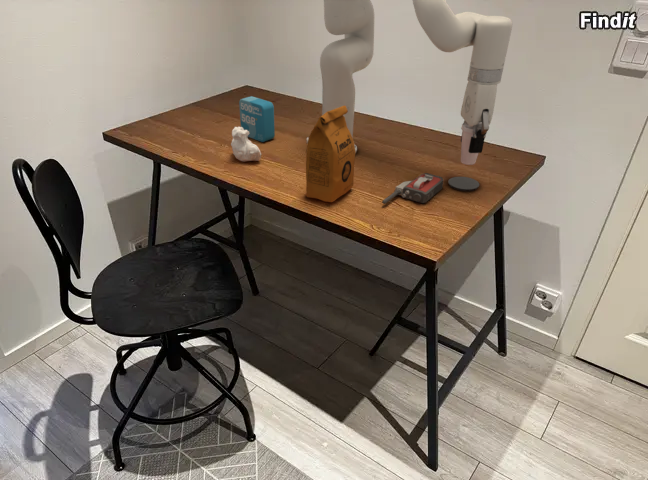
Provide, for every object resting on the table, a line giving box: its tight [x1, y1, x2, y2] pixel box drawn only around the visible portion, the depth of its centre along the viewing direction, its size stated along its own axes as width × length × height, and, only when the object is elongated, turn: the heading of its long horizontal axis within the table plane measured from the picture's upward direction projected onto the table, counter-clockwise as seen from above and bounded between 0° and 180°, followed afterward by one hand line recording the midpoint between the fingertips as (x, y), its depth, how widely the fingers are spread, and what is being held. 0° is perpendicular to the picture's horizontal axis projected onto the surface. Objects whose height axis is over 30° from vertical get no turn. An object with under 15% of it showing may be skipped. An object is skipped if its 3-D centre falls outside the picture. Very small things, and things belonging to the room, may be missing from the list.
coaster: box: [447, 176, 480, 192], centre depth 138 cm, size 8×8×1 cm
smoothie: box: [460, 122, 482, 166], centre depth 131 cm, size 6×6×14 cm
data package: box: [238, 95, 276, 143], centre depth 167 cm, size 12×4×12 cm, turn 44°
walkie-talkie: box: [381, 172, 445, 205], centre depth 132 cm, size 9×4×20 cm
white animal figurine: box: [230, 126, 262, 163], centre depth 152 cm, size 12×8×11 cm
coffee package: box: [305, 106, 356, 203], centre depth 129 cm, size 10×12×22 cm
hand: (470, 146), depth 132 cm, fingers closed on smoothie, 6 cm apart
